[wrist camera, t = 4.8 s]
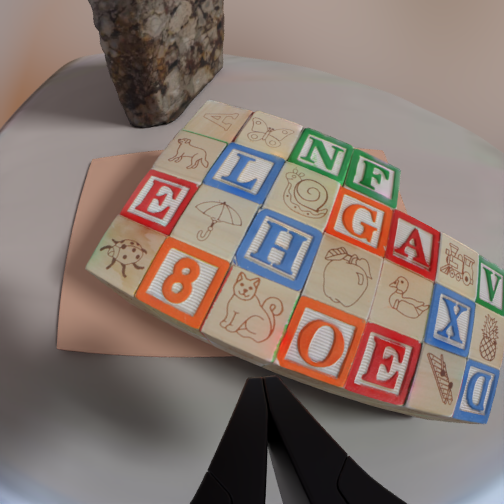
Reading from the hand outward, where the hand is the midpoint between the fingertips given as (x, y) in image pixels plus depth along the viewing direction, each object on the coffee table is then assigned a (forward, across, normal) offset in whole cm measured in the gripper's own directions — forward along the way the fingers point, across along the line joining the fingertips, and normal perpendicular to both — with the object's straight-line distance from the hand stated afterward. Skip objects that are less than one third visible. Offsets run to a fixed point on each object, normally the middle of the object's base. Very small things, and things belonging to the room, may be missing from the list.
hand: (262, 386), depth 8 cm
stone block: (+26, +6, -12) cm, 29 cm away
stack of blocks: (+4, -2, +4) cm, 6 cm away
